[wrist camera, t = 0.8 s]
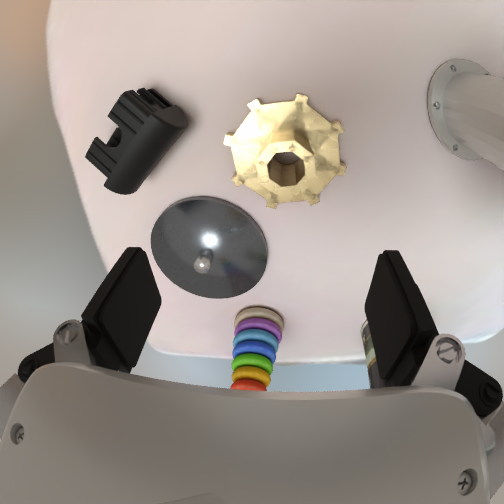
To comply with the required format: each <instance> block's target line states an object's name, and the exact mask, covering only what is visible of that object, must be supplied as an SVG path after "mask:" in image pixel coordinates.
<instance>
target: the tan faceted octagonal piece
mask: <svg viewBox="0 0 504 504" xmlns="http://www.w3.org/2000/svg"><path fill="white" fill-rule="evenodd" d="M307 99H308V97H307V96H304V95H301V94H297V93H296V97H295V100H290V101H281V102H273V103H266V104H262V103H261V101H260V100H259V99H258V98H257V99H256V100H254V101H252V102H251V103H249V104H247V105H248V106H249V108H250V109H251V112H250V114H249V115H248V116H247V118H246V119H245V120H244V122H243V123H242V125H241V126H240V127H239V129H238V130H237V131H236V133H230V132H228V133H227V134H226V136H225V141H224V145H227V146H231V149H232V153H233V158H234V162H235V167H236V172H237V173H235V174H234V175H233V177H232V180H233V182H234V183H235V185H236V186H237V187H238V186H240V185H241V184H244V185H246V186H247V187H249V188H250V189H252V190H253V191H255V192H256V193H258V194H259V195H261V196H262V197H263V198H265V199H266V200H267V206H266V207H270V208H274V209H276V207H277V203H284V202H294V201H305V200H308V202H309V203H310V205H311V206H312V205H314V204H316V203H318V202H320V201H319V197H318V194H319V193H320V192H321V191H322V190H323V189H324V187H325V186H326V185H327V184H328V183H329V182H330V181H331V180H332V179H333V178H334V177H335V175H336V174H337V175H341V176H344V173H345V170H346V168H347V167H346V165H345V164H344V163H342V162H340V158H339V145H338V134H339V133H341V132H344V130H343V128H342V126H341V124H340V122H339V121H338V120H335V121H333V122H331V123H330V122H329V121H328V120H326V119H325V118H324V117H323V116H321V115H320V114H319V113H318V112H316V111H315V110H314V109H312V108H311V107H310V106H308V105H307V104H306V103H307ZM288 151H292V152H293V153H295V154H296V155H297V156H299V159H298V160H297V161H296V162H295V163H294V164H287V165H282V164H280V163H279V162H277V161H276V160H275V159H273V158H272V157H273V156H274V155H275V153H279V152H288Z"/></svg>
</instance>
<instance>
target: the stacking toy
mask: <svg viewBox="0 0 504 504" xmlns="http://www.w3.org/2000/svg"><path fill="white" fill-rule="evenodd" d="M283 328H284V325H283V321H282V319H281V318H280V316H279V315H278V314H276V313H275V312H273V311H271V310H268V309H265V308H249V309H246V310H243V311H242V312H240V313H239V314H238V315H237V317H236V319H235V338H234V340H233V347H234V349H233V358H234V360H233V362H232V369H233V371H234V372H233V374H232V380H233V382H234V383H233V384H232V385H231V388H230V389H238V390H253V391H267V390H266V387H267V386H268V385H269V384H270V381H271V379H270V375H271V373H272V371H273V364H274V362H275V360H276V352H277V350H278V344H279V343H280V342H281V339H282V331H283Z"/></svg>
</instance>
